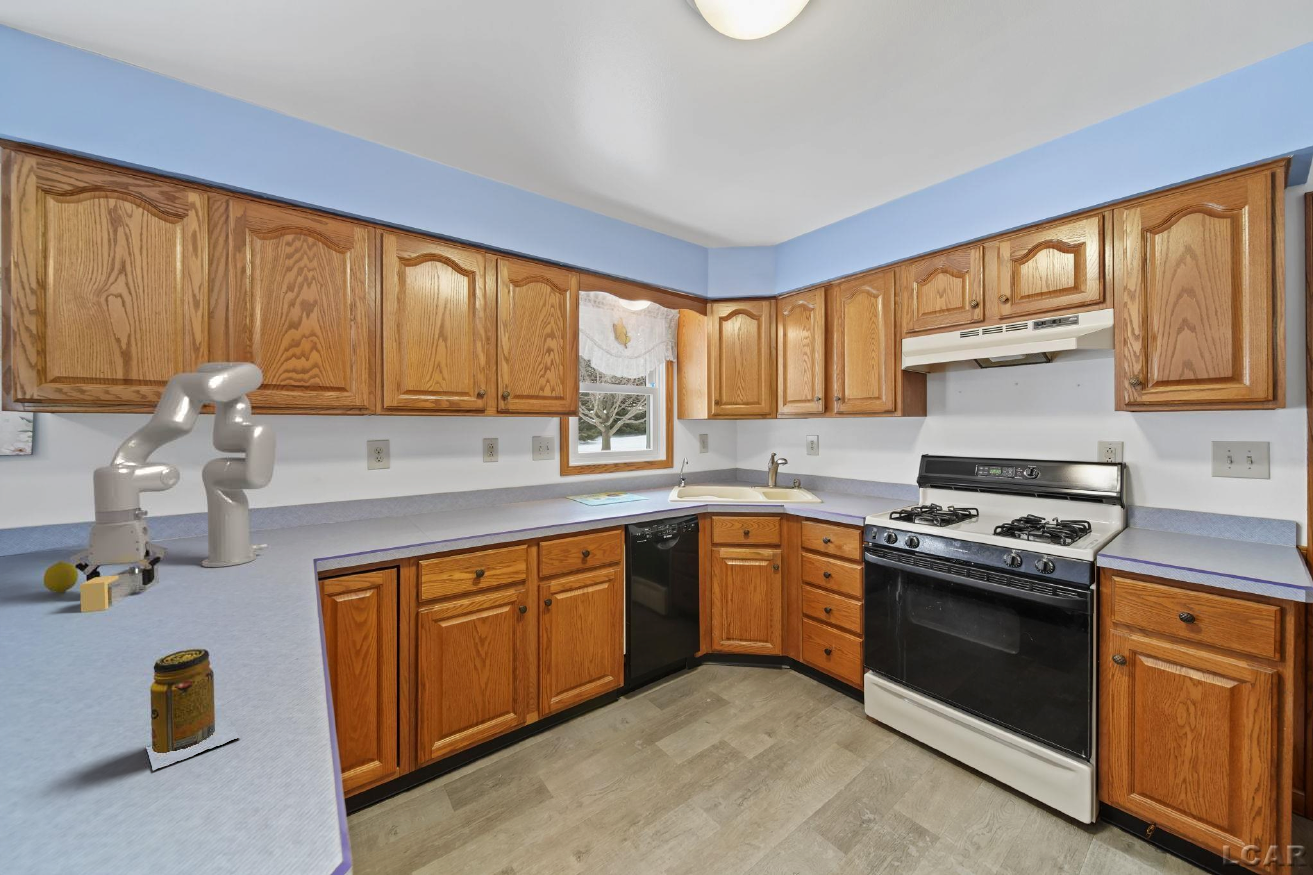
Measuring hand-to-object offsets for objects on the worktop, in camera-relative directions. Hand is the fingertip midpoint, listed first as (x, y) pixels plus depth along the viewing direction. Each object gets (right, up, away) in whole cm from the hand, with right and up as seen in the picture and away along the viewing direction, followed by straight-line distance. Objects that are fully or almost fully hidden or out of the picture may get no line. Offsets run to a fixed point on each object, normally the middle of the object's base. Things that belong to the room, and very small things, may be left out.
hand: (121, 586), depth 124 cm
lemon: (-17, -3, +2) cm, 17 cm away
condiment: (+69, -4, -57) cm, 90 cm away
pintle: (-3, -2, +6) cm, 7 cm away
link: (-1, -2, +1) cm, 3 cm away
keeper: (+3, -3, -7) cm, 8 cm away
